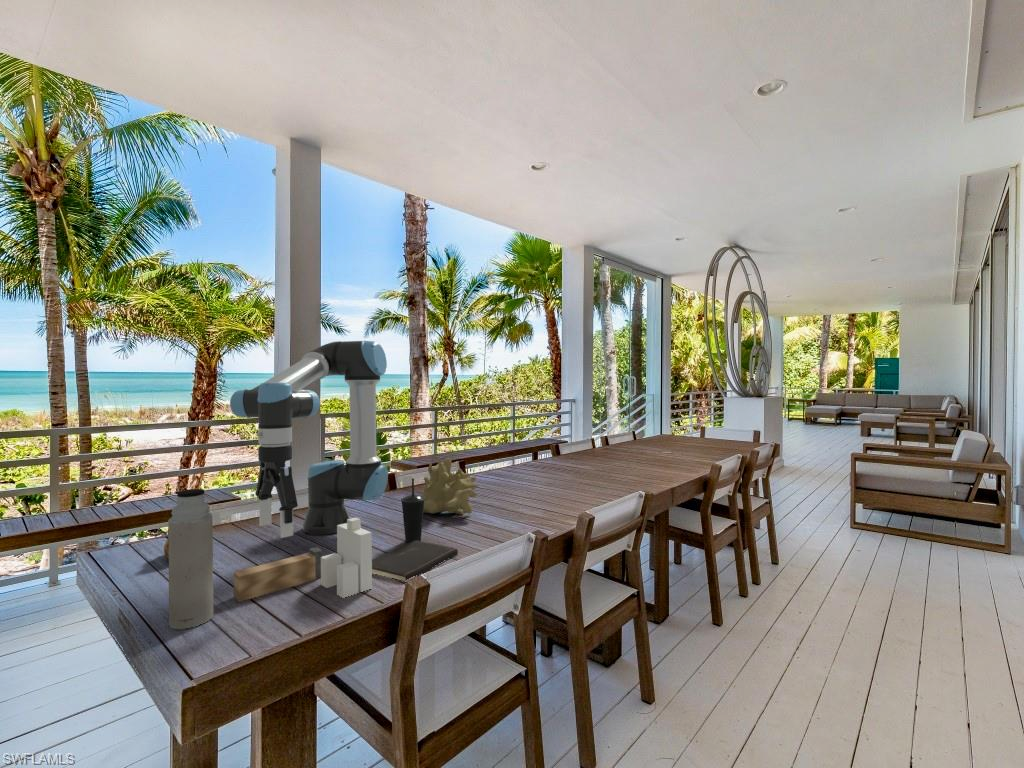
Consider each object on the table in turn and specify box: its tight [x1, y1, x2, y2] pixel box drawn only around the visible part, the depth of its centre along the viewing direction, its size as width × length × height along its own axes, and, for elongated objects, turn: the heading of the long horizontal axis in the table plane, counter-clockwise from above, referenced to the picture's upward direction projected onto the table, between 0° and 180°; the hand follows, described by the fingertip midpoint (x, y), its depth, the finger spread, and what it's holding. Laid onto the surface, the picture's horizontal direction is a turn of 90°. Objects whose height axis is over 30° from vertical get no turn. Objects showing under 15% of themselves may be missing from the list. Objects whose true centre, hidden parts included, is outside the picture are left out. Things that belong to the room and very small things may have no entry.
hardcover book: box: [372, 540, 459, 581], centre depth 140 cm, size 16×23×2 cm
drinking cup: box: [400, 478, 425, 544], centre depth 158 cm, size 8×8×20 cm
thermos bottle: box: [167, 488, 214, 630], centre depth 106 cm, size 8×8×28 cm
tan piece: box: [233, 546, 323, 602], centre depth 123 cm, size 20×4×7 cm, turn 136°
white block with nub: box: [320, 517, 373, 599], centre depth 123 cm, size 12×8×16 cm, turn 46°
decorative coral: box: [421, 457, 479, 516], centre depth 191 cm, size 26×22×25 cm
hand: (275, 530), depth 123 cm, fingers open, 13 cm apart
